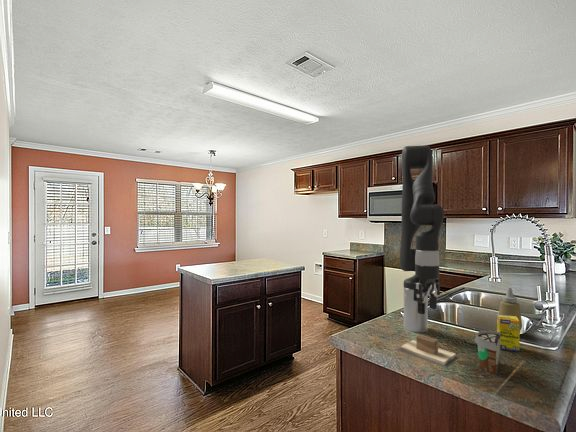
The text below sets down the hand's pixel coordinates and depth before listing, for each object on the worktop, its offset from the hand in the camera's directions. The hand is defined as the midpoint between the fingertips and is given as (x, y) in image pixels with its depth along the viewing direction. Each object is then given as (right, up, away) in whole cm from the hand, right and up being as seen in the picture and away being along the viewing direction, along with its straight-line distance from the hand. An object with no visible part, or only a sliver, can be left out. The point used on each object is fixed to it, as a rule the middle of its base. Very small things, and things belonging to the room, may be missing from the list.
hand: (427, 311), depth 107 cm
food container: (+14, -15, -9) cm, 23 cm away
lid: (0, -14, 0) cm, 14 cm away
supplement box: (+31, -15, +5) cm, 35 cm away
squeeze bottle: (+41, -15, +19) cm, 48 cm away
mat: (0, -15, 0) cm, 15 cm away
